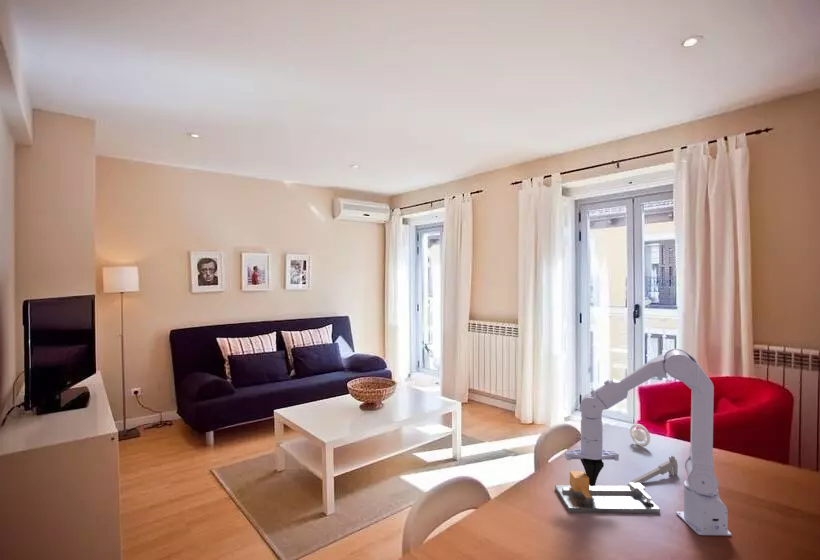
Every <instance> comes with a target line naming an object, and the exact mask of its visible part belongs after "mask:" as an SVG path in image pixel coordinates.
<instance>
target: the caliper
mask: <svg viewBox="0 0 820 560" xmlns="http://www.w3.org/2000/svg"><path fill="white" fill-rule="evenodd" d="M668 459H669V460H667V461H664V462H663V463H661V464H659V465H658V467H656V468H654V469H652V470H650V471H648V472H646V473H644V474H642V475H640V476H638V477H636V478H634V479H632V480H630V482H629V483H641V484H644V483H645V482H646V481H649V480H651V479H653V478H654V477H656V476H658V475H662V476H663V475H665V474H667V473H668V474H669V476H671V477H674V475H675V476H677V475H678V473H679V472H678V471H679V470H678V468H679V467H678V466H679V465H678V461H677V459H676V458H675V456H674V455H671V457H670V456H669V457H668ZM629 483H628V484H627V485H626V486H629Z"/></svg>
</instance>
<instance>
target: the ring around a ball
mask: <svg viewBox="0 0 820 560" xmlns="http://www.w3.org/2000/svg"><path fill="white" fill-rule="evenodd" d="M637 427H638V428H637ZM635 428H637V429H635ZM629 433H630V438H631V440H632V441H633V442H634V443H635V444H636V445H637V446H639V447H643V448H644V447H647V446H648V445H649V444H650V442H651V436H650V432H649V430H648V429H647V428H646V427H645V426H644V425H643V424H640V423H634V424H633V425H631V427H630V429H629ZM641 442H644V443H641Z"/></svg>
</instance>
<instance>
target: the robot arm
mask: <svg viewBox="0 0 820 560" xmlns="http://www.w3.org/2000/svg"><path fill="white" fill-rule="evenodd" d="M667 375H669V376H670V377H671V378H673V379H675V380H677V381H679V382H682V383H683V384H684V385H686V387H688V388H689V389H690V390H691V396H690V398H691V400H690V402H691V403H690V408H691V409H690V448H689V451H688V452H689V453H688V457H687V458H686V460H685V463H684V468H685V471H686V474H687V478H686V479H685V480H684V482H683V510H682V511H679V510H678V511H676V512H675V513H676V515H678V517H679V518H681V520H682V521H684V522H685V524H687V525H688V526H689V527H690V528H691V529H692V530H693V531H694V532H695V533H696V534H697V535H699V536H732V533H731V532H730V530H729V529H728V528H729V526H728V525H729V523H728V522H729V512H728V507H727V506H726V504H725V503H724V502H723V501H722V499H721V498H720V494H719V486H720V485H719V480H718V478H717V476H716V474H715V464H714V463H715V462H714V458H713V457H714V452H713V448H714V446H713V445H714V404H715V403H714V402H715V401H714V398H715V397H714V396H715V391H714V390H715V386H714V383H713V381H712V379H710V377H709V376H708V374H707V373H706V372H705V371H704V369H703V368H702V367H701V365H700V364H699V363H698V361H697V359H695V358H694V357H693V356H692V355H690V354H689V353H687V352H686V351H685V350H682V349H679V348H672V349H669V350H668V351H666V352H665V353H662V354H661V353H660V354H659V355H657V356H655V357H654V358H652V359H651V360H649V361H647V362H646V363H644V364H643V365H641V366H640V367H638V368H637V369H636V370H634V371H633V372H631V373H630V374H628V375H627V376H625V377H624V378H622V379H621V380H618V379H607V380H605V381H604V383H603V385H602V386H600V387H598V388H597V389H595V390H593V389H592V390H590V392H589V393H587V394H585V395H584V396H583V397H582V399H581V401H580V404H579V409H580V412H581V414H580V417H581V419H580V448H577V449H572V450H564V458H565V459H566V460H567V461H571V460H580V462H581V465H582V466H583V470H584V472H585V474H586V475H587V476H588V477H589V485H590V486H596V482H597V479H598V477H599V474H600V472H601V471H602V470H603V468H604V466H605V464H604V461H603V460H612V461H613V460H614V461H616V462H618V461H619V459H620V458H619V457H620V455H619V453H618V452H617V451H616V450H607V449H603V438H604V437H603V432H604V431H603V424H604V423H603V421H602V418H603V411H604V410H609V409H611V408H612V407H614V406H615V405H617V404H619V403H621V402H622V401H624V400H626V399H627V398H628V393H629V391H631V390H632V389H635V388H636V387H638V386H640V385H642V384H643V383H645V382H648V381H649V380H651V379H653V378H663V379H667V378H668V377H667Z"/></svg>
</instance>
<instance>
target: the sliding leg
mask: <svg viewBox="0 0 820 560" xmlns="http://www.w3.org/2000/svg"><path fill="white" fill-rule="evenodd" d="M569 485H570V486H571V487H572V489H573V490H574V492H582V493H583V494H584V496H585V497H586V503H587V504H589V498H591V495H590V494H589V477H588V476H587V475H586V472H585V470H584V471H581V470H578V471H577V470H570V471H569Z"/></svg>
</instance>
